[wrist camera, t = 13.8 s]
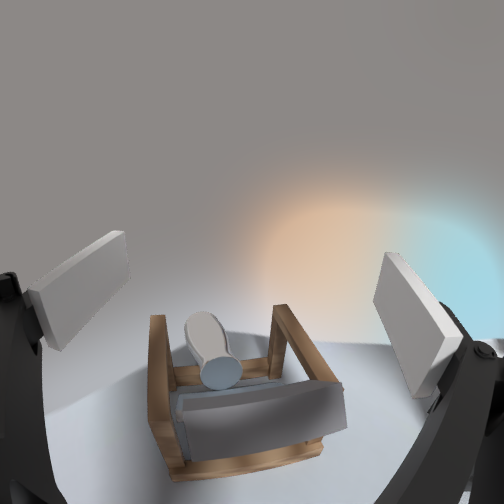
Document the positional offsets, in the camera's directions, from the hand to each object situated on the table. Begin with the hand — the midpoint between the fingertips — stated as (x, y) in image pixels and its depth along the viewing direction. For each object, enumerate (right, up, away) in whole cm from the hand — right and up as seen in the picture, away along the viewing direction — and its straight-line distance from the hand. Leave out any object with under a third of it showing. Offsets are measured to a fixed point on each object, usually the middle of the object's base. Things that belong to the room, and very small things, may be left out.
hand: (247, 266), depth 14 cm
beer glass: (-4, -16, +23) cm, 28 cm away
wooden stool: (-3, -23, +22) cm, 32 cm away
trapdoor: (-1, -17, +13) cm, 22 cm away
